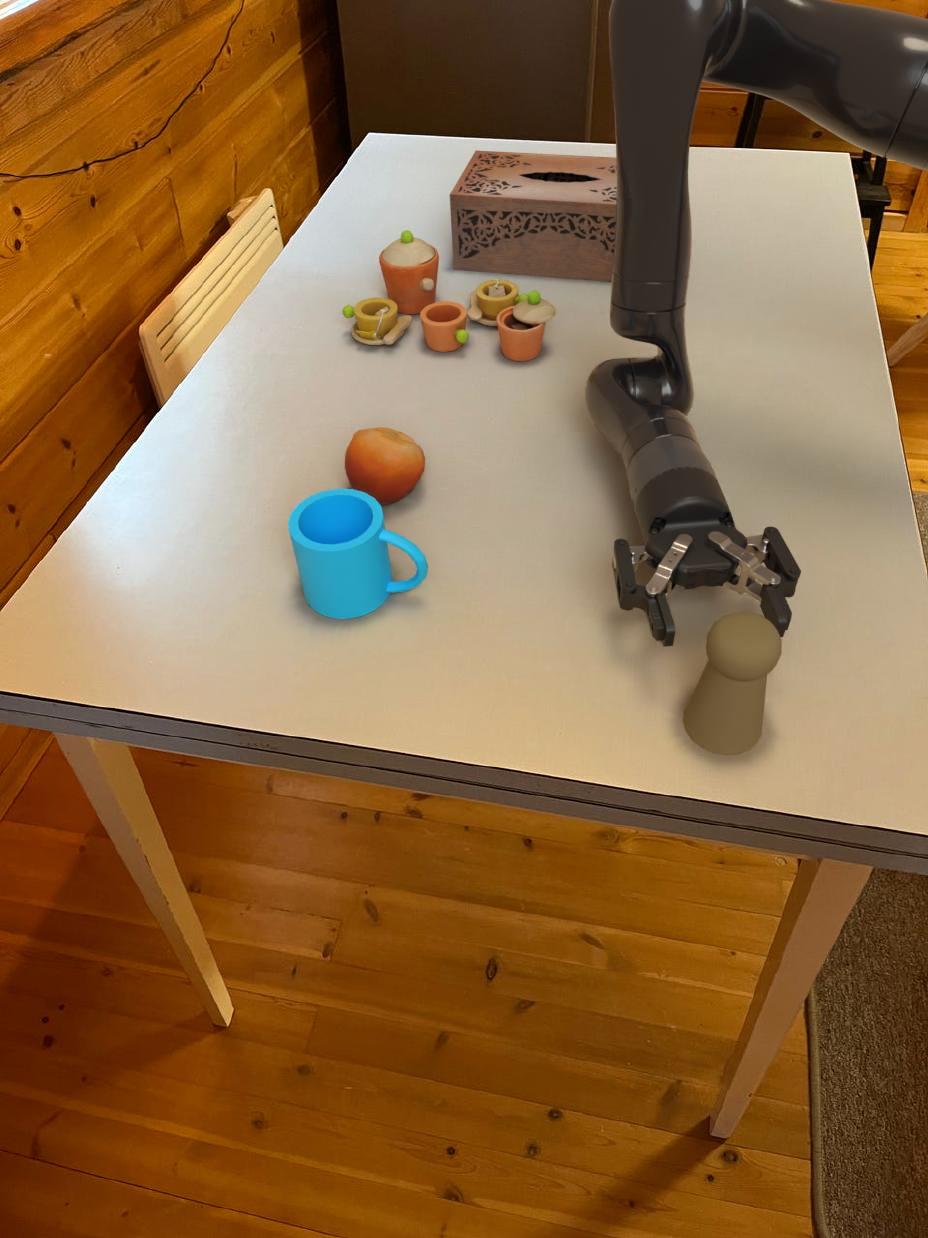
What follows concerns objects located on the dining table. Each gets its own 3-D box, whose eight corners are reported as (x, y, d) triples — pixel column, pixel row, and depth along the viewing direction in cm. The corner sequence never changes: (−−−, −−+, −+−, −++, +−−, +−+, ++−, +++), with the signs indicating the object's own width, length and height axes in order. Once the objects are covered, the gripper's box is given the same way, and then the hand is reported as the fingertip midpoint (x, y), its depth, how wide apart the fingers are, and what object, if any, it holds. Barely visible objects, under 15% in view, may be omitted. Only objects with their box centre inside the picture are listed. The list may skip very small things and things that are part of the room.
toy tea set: (335, 346, 113) (323, 271, 106) (381, 285, 123) (373, 213, 116) (542, 375, 107) (544, 297, 100) (573, 308, 117) (576, 233, 110)
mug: (290, 610, 83) (272, 543, 77) (323, 550, 89) (308, 482, 83) (417, 632, 81) (409, 565, 75) (443, 569, 86) (437, 501, 80)
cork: (680, 691, 75) (699, 597, 67) (756, 694, 75) (785, 599, 67) (686, 753, 71) (708, 661, 63) (767, 756, 71) (799, 664, 62)
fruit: (315, 489, 92) (337, 413, 89) (371, 489, 99) (393, 418, 95) (369, 526, 88) (394, 447, 85) (423, 523, 94) (448, 450, 91)
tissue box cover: (453, 269, 126) (449, 194, 118) (478, 222, 135) (475, 150, 128) (645, 283, 121) (653, 206, 113) (656, 234, 130) (664, 159, 123)
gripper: (599, 471, 79) (637, 609, 68) (765, 457, 79) (830, 593, 68) (594, 537, 84) (628, 674, 73) (749, 524, 84) (807, 659, 73)
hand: (725, 635), depth 71 cm, fingers open, 8 cm apart
